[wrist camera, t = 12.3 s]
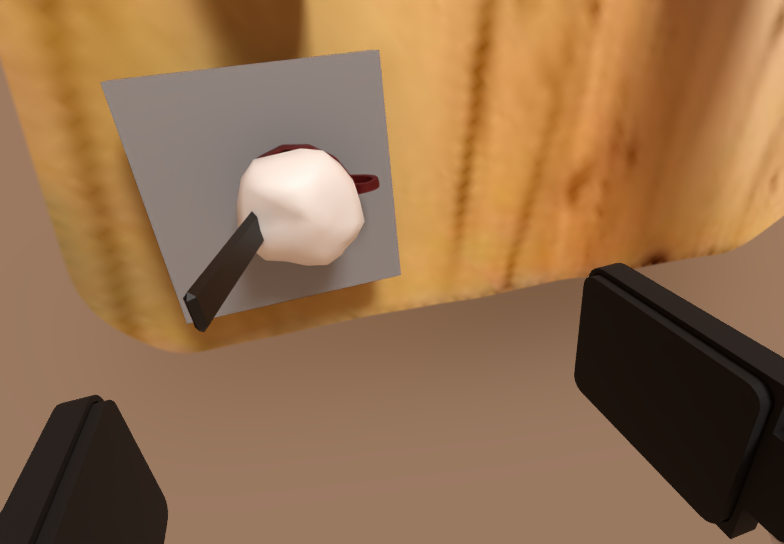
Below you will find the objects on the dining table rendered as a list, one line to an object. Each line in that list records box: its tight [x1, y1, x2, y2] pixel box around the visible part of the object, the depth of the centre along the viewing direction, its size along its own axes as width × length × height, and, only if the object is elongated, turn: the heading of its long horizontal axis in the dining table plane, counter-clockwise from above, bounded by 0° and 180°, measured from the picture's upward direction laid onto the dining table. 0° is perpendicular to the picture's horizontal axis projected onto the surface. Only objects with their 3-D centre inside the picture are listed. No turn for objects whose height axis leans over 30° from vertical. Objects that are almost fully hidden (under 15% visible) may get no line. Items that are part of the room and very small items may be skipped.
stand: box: [100, 50, 401, 324], centre depth 29 cm, size 14×14×5 cm
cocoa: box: [183, 144, 380, 332], centre depth 22 cm, size 10×6×12 cm, turn 77°
